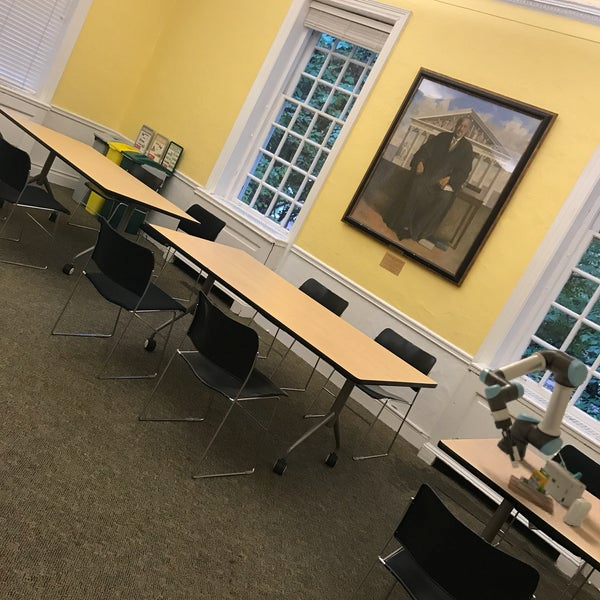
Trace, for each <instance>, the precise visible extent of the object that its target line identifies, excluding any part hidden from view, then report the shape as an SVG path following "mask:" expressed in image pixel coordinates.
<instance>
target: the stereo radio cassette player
mask: <svg viewBox="0 0 600 600" xmlns="http://www.w3.org/2000/svg"><path fill="white" fill-rule="evenodd" d="M557 450H558V449H557ZM557 453H558V454H559V457H560V459H561V462H563V464H564V462H565V461H564V460H563V458H562V456H561V453H560V451H559V450H558V451H557ZM542 468H543V469H544V470H545V471H546V472H547V473H548V474H549V475H550V478H549V480H548V481H547V483H546V485H545V487H544V488H543V489H545V490H547V491H548V492H549V495H551V496H552V498H553V499H555V500H556V502H558V503H559V505H560V506H564V507H567V508H570V506H571V505H572V503H573V502H574V501H575V500H577V499H581V497H582V495H583V494H584V493H585V491H586V489H587V485H585V484H584V483H582V482H581V481H580V479H579V480H578V479H577V478H575V477H574V476H573V475H574V474H573V473H572V472H571V473H572V474H573V475H572V474H571V473H569V472H570V471H569V470H568V469H567V467H566V463H565V464H564V468H563V467H562V466H561V465H560V463H559V462H557V461H554V460H552V459H549V458H548V459H547V460H546V461H545V464H544V466H543V467H542ZM567 470H568V471H569V472H568V471H567ZM546 472H544V471H543V473H544V474H545V475H547V474H546Z"/></svg>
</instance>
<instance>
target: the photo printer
mask: <svg viewBox="0 0 600 600" xmlns="http://www.w3.org/2000/svg"><path fill="white" fill-rule="evenodd" d="M592 507H593V506H592V503H591V502H590V501H589V500H587V499H586V498H580V499H577V500H575V501H574V502H573V503H572V505H571V506H570V507H568V509H567V511H566V513H565V515H564V516H563V518H562V521H563V520H564V521H563V522H564V523H565V522H566V523H567V524H566V523H565V524H566V525H568V524H569V525H568V526H571V525H573V527H581V526H582V524H583V522H584V521H585V520H586V518H587V516H588V515H589V513H590V512H591V510H592Z"/></svg>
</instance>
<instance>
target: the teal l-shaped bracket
mask: <svg viewBox="0 0 600 600" xmlns="http://www.w3.org/2000/svg"><path fill="white" fill-rule="evenodd" d="M563 462H564V464H565V465H566V462H565V461H563ZM563 462H562V461H560V463H559V464H560V465H561V466H562V467H563V468H565V467H564V464H563ZM567 471H568V472H569V473H571V474H572V475H573V476H574V477H575V478H577V479H578V480H579V481H580V479H581V478H582V476H583V475H582V473H581V472H580V471H578V472H577V473H575V474H573V473H572V472H570V471H569V470H568V469H567Z"/></svg>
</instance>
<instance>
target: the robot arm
mask: <svg viewBox="0 0 600 600" xmlns="http://www.w3.org/2000/svg"><path fill="white" fill-rule="evenodd" d="M545 370H546V371H549V372H551V373H552V374H554V377H553V382H554V385H553V386H554V387H553V389H552V393H551V394H550V398H549V401H548V404H547V406H546V410H545V412H544V416H543V419H542V421H541V420H540V419H539V418H537V417H534V416H533V415H530V414H528V413H525V412H520V413H518V415H517V416H516V417H515V420H514V421H512V418H511V417H510V412H509V409H508V406H507V404H508V403H510V402H514V401H516V400H518V399H520V398H522V397H524V395H525V388H524V386H523V385H522V384H521V383H520V382H518V381H517V382H511V381H513V380H514V379H518V378H521V377H524V376H526V375H528V374H530V373H533V372H536V371H539V372H541V371H545ZM588 374H589V372H588V367H587V366H586V364H585V363H583V362H582V361H581V360H578V359H576V358H575V357H572V356H571V355H569V354H567V353H565V352H564V351H561V350H558V349H543V350H539V351H535V352H533V353H532V354H531V355H530V356H528V357H526V358H522V359H520V360H517V361H515V362H512V363H510V364H507V365H504V366H502V367H499V368H497V369H494V370H492V369H491V368H487V367H485V368H483V369H482V370H481V371H480V373H479V375H478V378H479V381H480V382H481V383H483V385H485V386H487V387H485V389H484V394H485V398H486V401H487V404H488V407H489V409H490V412H491V413H490V416H492V419H493V420H494V421H493V422H494V423H493V424H494V426H495V428H496V429H497V430H502V431H501V436H502V438H501V439H499V441H498V442H497V447H498V448H499V449H500V450H501V451H502V452H504V453H505V454H506V456H507V455H508V457H509V460H510V463H511V467H512V469H519V468H520V465H519V462H518V461H524V459H525V457H526V454H527V453H526V452H527V448H528V445H529V444H530V445H531V446H532V447H534V448H535V449H536V450H538V452H539V453H542V454H543V455H545V456H549V457H550V456H553V455H555V454H556V453H558V451H559V450H560V449H561V448H562V446H563V443H564V440H563V439H562V438H561V434H562V431H561V429H560V428H561V425H562V422H563V419H564V416H565V414H566V411H567V408H568V405H569V402H570V399H571V396H572V394H573V391H574V390H575V389H578V387H580V386H582V385H583V384H584V382H586V380H587V378H588ZM557 449H558V450H557Z"/></svg>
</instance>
